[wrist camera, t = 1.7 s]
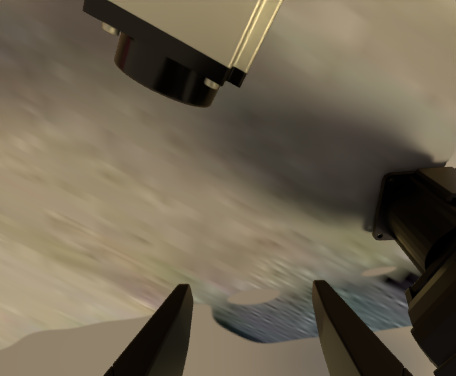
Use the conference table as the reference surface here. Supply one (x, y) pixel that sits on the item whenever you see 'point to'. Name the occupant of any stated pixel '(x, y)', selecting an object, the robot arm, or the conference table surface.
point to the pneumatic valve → (186, 42)
